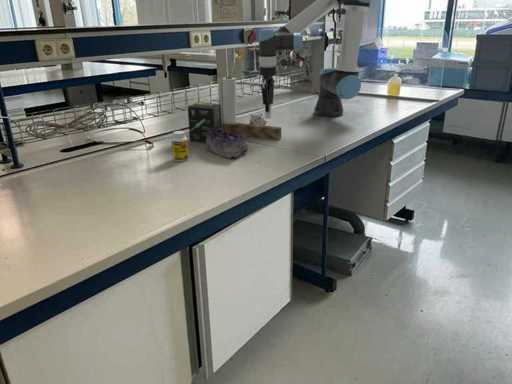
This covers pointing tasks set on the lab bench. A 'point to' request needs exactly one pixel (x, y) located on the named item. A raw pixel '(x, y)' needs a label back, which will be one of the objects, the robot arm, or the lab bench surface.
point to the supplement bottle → (179, 146)
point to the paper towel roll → (227, 99)
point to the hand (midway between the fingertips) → (268, 118)
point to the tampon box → (203, 120)
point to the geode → (225, 143)
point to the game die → (257, 120)
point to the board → (253, 130)
